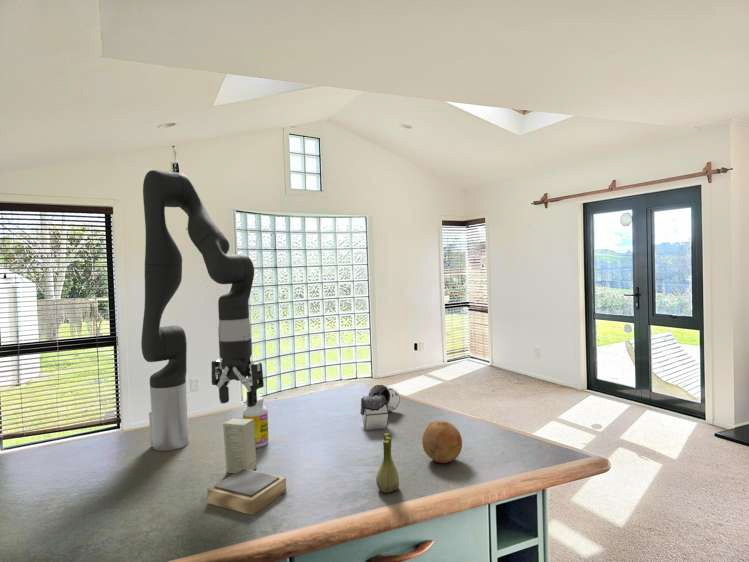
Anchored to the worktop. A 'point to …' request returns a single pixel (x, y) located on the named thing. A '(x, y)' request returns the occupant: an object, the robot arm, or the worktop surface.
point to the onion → (442, 441)
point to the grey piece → (378, 406)
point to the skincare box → (239, 444)
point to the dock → (246, 491)
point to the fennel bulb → (387, 469)
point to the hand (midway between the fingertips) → (238, 404)
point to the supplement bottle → (258, 421)
